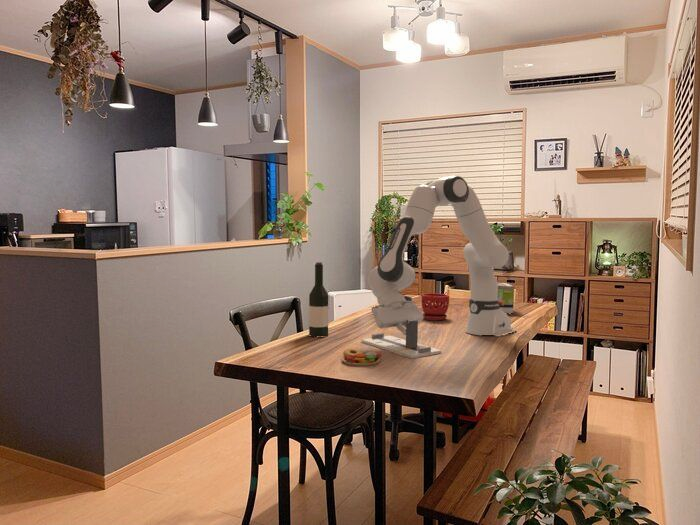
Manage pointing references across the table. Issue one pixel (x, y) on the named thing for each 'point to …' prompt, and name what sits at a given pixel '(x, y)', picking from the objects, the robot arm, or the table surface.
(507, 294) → the tea box
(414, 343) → the fader tab
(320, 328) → the wine bottle
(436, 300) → the plant pot
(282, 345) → the table surface
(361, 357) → the toy food set
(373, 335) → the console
